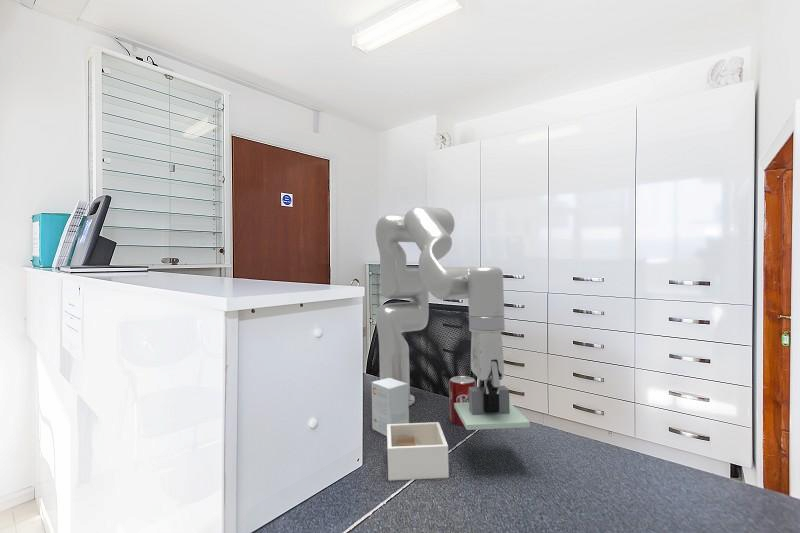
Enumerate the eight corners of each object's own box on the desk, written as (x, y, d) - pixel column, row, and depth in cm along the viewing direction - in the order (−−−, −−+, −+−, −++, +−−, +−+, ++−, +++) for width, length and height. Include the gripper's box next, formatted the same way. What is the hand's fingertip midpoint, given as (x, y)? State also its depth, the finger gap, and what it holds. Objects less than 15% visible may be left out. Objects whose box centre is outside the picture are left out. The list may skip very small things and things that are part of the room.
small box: (409, 434, 98) (408, 383, 98) (390, 441, 94) (389, 388, 94) (390, 424, 104) (389, 377, 104) (371, 431, 100) (370, 381, 100)
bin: (387, 454, 87) (386, 424, 87) (439, 452, 87) (438, 422, 87) (388, 484, 75) (387, 448, 75) (448, 481, 75) (448, 446, 76)
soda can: (482, 423, 103) (481, 379, 104) (465, 431, 99) (463, 385, 99) (461, 416, 109) (461, 374, 109) (444, 423, 104) (443, 379, 104)
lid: (454, 407, 88) (453, 381, 88) (508, 404, 89) (507, 379, 89) (466, 429, 75) (465, 399, 75) (530, 427, 76) (529, 396, 76)
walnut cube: (396, 455, 85) (396, 437, 85) (414, 454, 85) (413, 436, 85) (397, 464, 81) (396, 445, 81) (415, 463, 81) (415, 444, 81)
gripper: (461, 319, 90) (463, 397, 90) (479, 329, 74) (481, 425, 74) (492, 318, 91) (494, 396, 90) (517, 328, 74) (519, 423, 74)
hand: (489, 408), depth 82 cm, fingers closed on lid, 3 cm apart
